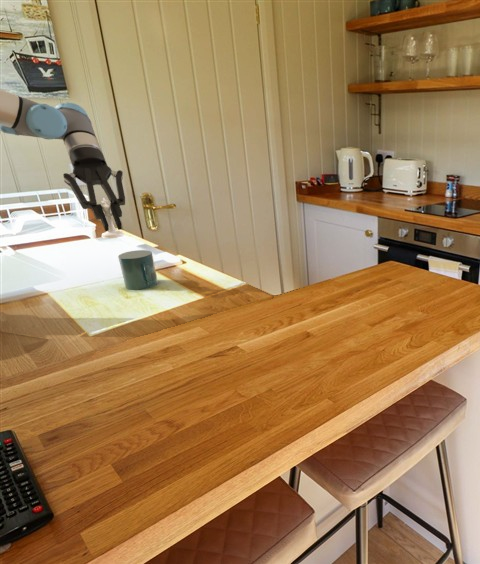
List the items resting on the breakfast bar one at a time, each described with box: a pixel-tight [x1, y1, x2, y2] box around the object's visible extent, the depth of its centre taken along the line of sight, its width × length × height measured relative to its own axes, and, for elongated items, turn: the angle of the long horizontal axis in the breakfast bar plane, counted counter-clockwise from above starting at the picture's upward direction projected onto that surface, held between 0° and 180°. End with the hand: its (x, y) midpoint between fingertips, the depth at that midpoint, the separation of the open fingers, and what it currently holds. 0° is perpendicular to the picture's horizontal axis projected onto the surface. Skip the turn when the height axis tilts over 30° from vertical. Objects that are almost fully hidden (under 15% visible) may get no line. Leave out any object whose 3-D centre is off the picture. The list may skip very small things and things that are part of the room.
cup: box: [117, 249, 159, 291], centre depth 118 cm, size 10×8×9 cm
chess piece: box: [100, 197, 125, 239], centre depth 110 cm, size 5×5×10 cm
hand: (113, 227), depth 108 cm, fingers closed on chess piece, 2 cm apart
